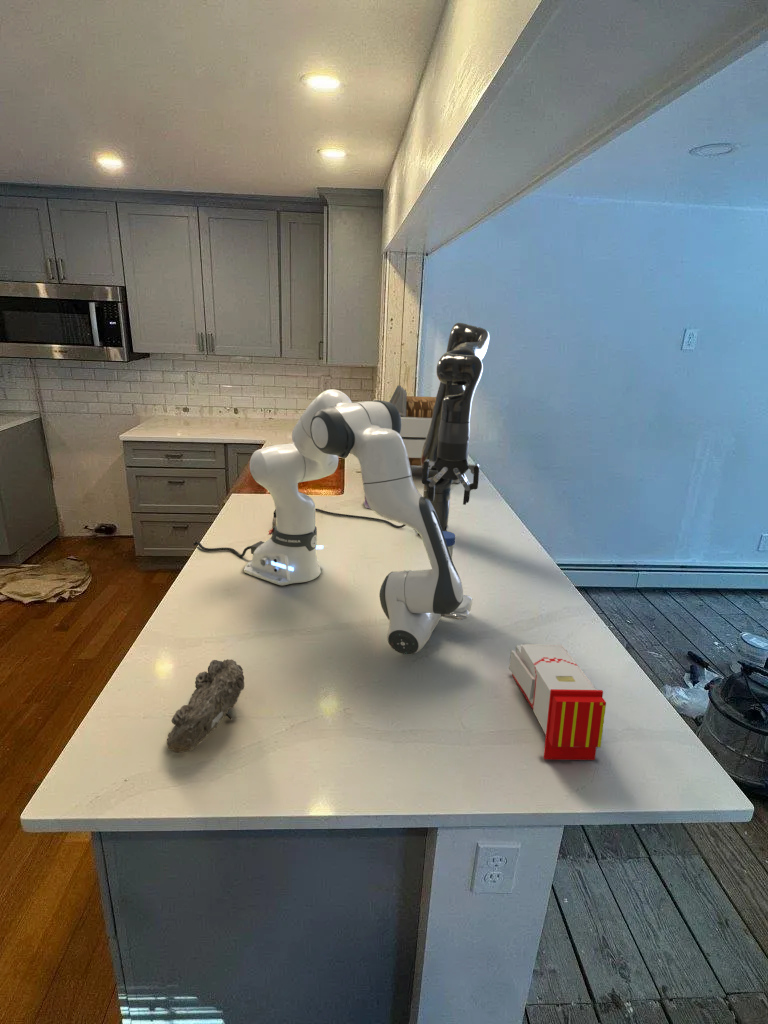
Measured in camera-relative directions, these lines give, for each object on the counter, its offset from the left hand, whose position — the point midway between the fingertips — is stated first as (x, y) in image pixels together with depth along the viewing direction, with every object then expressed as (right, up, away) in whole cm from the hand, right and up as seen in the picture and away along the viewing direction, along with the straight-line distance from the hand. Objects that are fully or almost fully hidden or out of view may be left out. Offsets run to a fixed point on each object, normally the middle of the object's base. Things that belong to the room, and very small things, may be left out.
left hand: (439, 586), depth 150 cm
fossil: (-47, -19, -42) cm, 66 cm away
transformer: (+3, +39, +125) cm, 131 cm away
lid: (+1, +14, -3) cm, 14 cm away
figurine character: (-50, +14, +52) cm, 73 cm away
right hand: (+2, +22, -6) cm, 23 cm away
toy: (+18, -20, -36) cm, 45 cm away
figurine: (-19, +22, +77) cm, 82 cm away
